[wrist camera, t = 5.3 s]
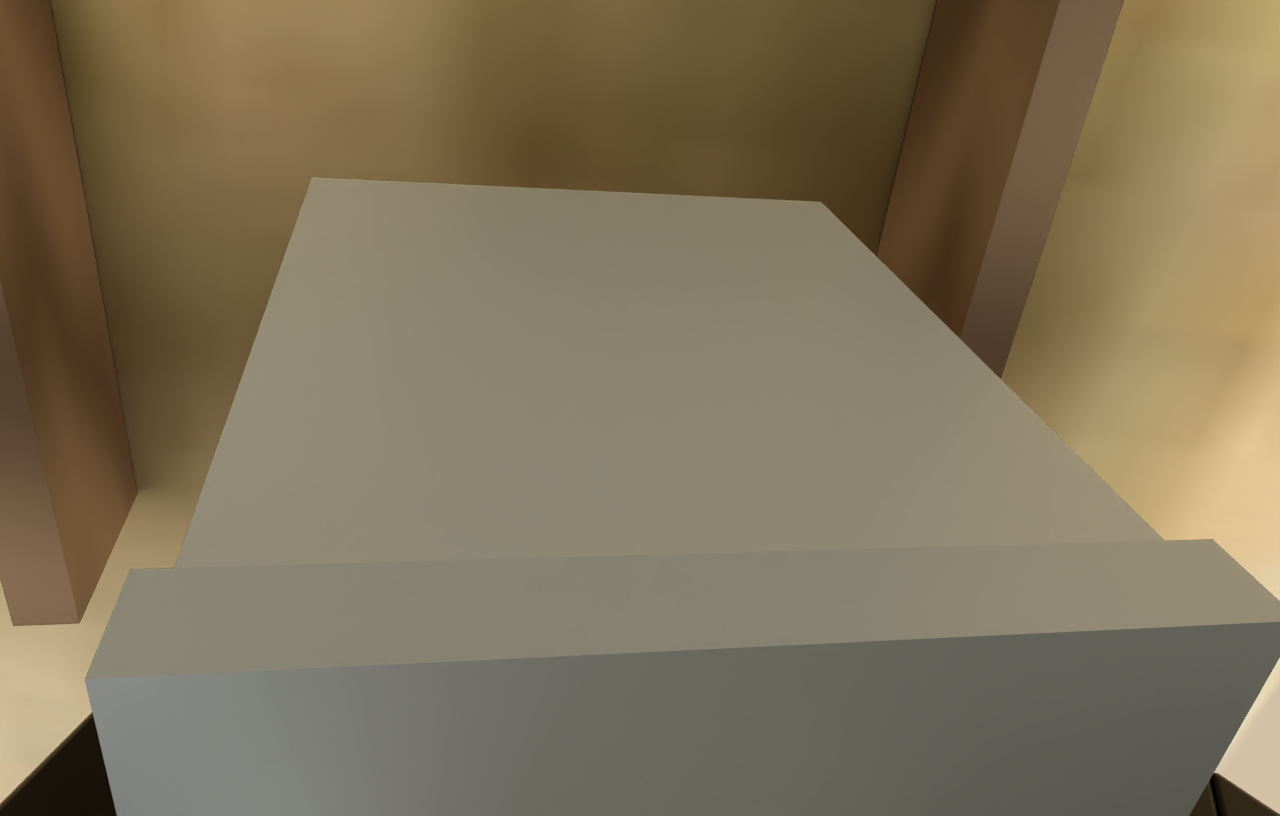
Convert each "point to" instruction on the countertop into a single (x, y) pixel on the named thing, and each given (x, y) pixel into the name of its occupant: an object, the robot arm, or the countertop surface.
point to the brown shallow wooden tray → (909, 246)
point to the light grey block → (652, 544)
